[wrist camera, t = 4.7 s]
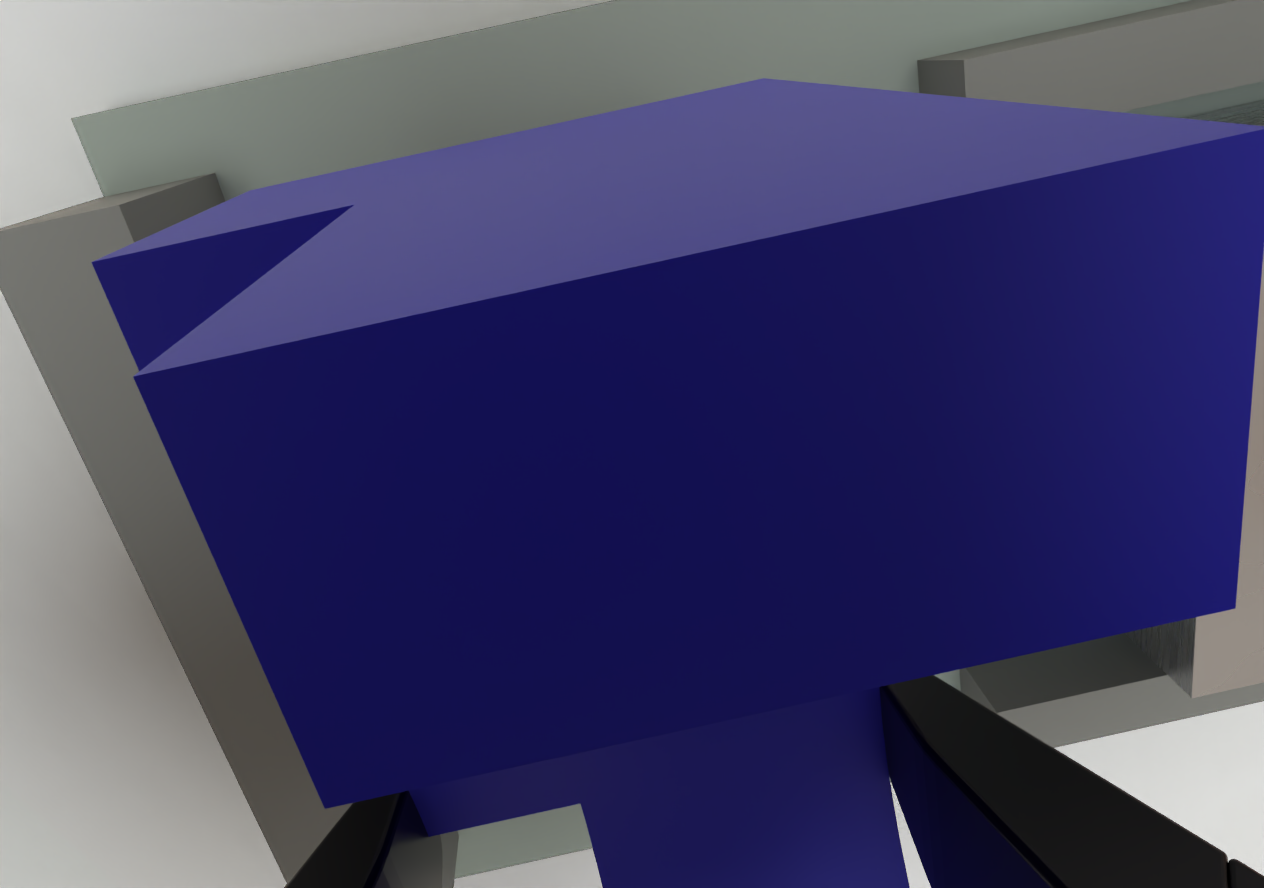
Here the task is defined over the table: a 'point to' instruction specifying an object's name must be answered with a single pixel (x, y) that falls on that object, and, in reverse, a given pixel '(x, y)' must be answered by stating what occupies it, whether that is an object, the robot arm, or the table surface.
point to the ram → (1260, 625)
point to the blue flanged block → (705, 445)
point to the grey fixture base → (516, 101)
